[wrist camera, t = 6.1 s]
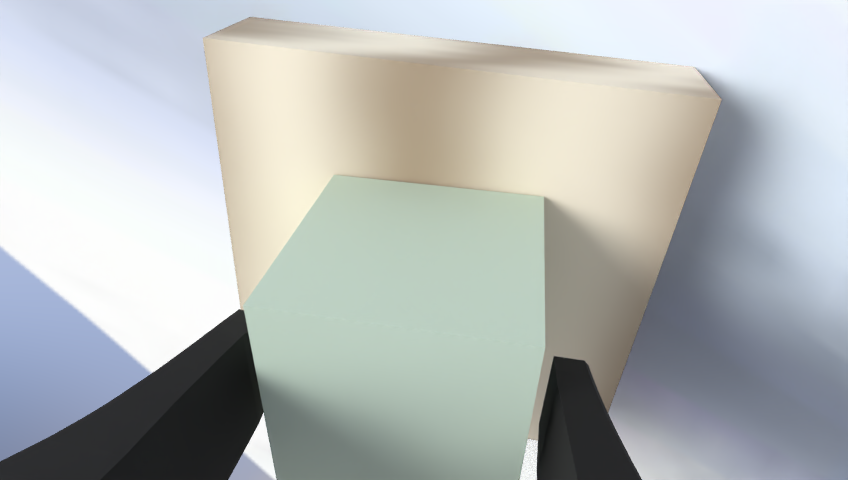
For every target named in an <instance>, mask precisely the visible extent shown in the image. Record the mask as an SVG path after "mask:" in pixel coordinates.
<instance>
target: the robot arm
mask: <svg viewBox="0 0 848 480" xmlns="http://www.w3.org/2000/svg"><path fill="white" fill-rule="evenodd" d="M263 412H264V411H263V406H262V401H261V396H260V390H259V385H258V380H257V375H256V370H255V365H254V359H253V354H252V349H251V344H250V339H249V334H248V328H247V323H246V318H245V313H244V310H240V309H239V310H238V311H236V312H235V313H234V314H232V315H231V316H229V317H228V318H227V319H225V320H224V321H223V322H221V323H220V324H219V325H217V326H216V327H215V328H213V329H212V330H211V331H209V332H208V333H207V334H205V335H204V336H203V337H201V338H200V339H199V340H197V341H196V342H195V343H193V344H192V345H191V346H189V347H188V348H187V349H185V350H184V351H183V352H181V353H180V354H178V355H177V356H176V357H174V358H173V359H171V360H170V361H169V362H167V363H166V364H165V365H163V366H162V367H160V368H159V369H158V370H156V371H155V372H153V373H152V374H150V375H149V376H147V377H146V378H144V379H143V380H141V381H140V382H138V383H137V384H136V385H134V386H132V387H131V388H129V389H128V390H126V391H125V392H124V393H122V394H121V395H119V396H117V397H116V398H114V399H113V400H111V401H110V402H108V403H107V404H105V405H103V406H102V407H100V408H99V409H97V410H95V411H94V412H92V413H90V414H89V415H87V416H85V417H84V418H82V419H80V420H78V421H77V422H75V423H73V424H71V425H70V426H68V427H66V428H64V429H63V430H61V431H59V432H57V433H55V434H54V435H52V436H50V437H48V438H46V439H44V440H42V441H40V442H38V443H36V444H34V445H32V446H30V447H28V448H26V449H24V450H23V451H21V452H18V453H16V454H14V455H12V456H10V457H9V458H7V459H4V460H2V461H1V462H0V480H228V479H229V477H230V475H231V474H232V472H233V470H234V468H235V466H236V465H237V463H238V461H239V459H240V457H241V455H242V454H243V452H244V450H245V448H246V446H247V444H248V443H249V441H250V439H251V437H252V435H253V433H254V431H255V429H256V428H257V426H258V424H259V422H260V419H261V417H262V414H263ZM537 480H642V479H641V477H640V475H639V473H638V472H637V470H636V468H635V466H634V464H633V463H632V461H631V459H630V457H629V455H628V453H627V451H626V449H625V447H624V445H623V443H622V441H621V439H620V437H619V435H618V433H617V431H616V429H615V427H614V425H613V423H612V421H611V419H610V416H609V414H608V412H607V410H606V408H605V405H604V403H603V401H602V398H601V396H600V394H599V391H598V389H597V386H596V384H595V381H594V379H593V376H592V373H591V371H590V368H589V365H588V364H587V363H586V362H585V361H584V360H578V359H571V358H564V357H557V356H554V357H553V362H552V366H551V371H550V375H549V380H548V384H547V389H546V393H545V398H544V402H543V407H542V412H541V416H540V421H539V432H538V453H537Z"/></svg>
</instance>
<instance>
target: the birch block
mask: <svg viewBox="0 0 848 480" xmlns="http://www.w3.org/2000/svg"><path fill="white" fill-rule="evenodd" d="M203 43H204V50H205V57H206V64H207V71H208V78H209V86H210V93H211V100H212V107H213V114H214V121H215V128H216V136H217V143H218V150H219V157H220V164H221V171H222V178H223V186H224V193H225V200H226V207H227V214H228V221H229V228H230V236H231V243H232V250H233V257H234V264H235V271H236V278H237V285H238V293H239V300H240V307H241V310H244V308H243V305H244V304H245V302H246V301H247V299H248V298H249V296H250V295H251V293H252V292H253V291H254V289H255V288H256V286H257V285H258V283H259V282H260V281H261V279H262V278H263V276H264V275H265V273H266V272H267V270H268V269H269V268H270V266H271V265H272V263H273V262H274V260H275V259H276V257H277V256H278V255H279V253H280V252H281V250H282V249H283V247H284V246H285V245H286V243H287V242H288V240H289V239H290V237H291V236H292V234H293V233H294V232H295V230H296V229H297V227H298V226H299V224H300V223H301V222H302V220H303V219H304V217H305V216H306V214H307V213H308V211H309V210H310V209H311V207H312V206H313V204H314V203H315V201H316V200H317V198H318V197H319V196H320V194H321V193H322V191H323V190H324V188H325V187H326V186H327V184H328V183H329V181H330V180H331V178H332V177H333V175H341V176H350V177H360V178H370V179H379V180H389V181H398V182H408V183H418V184H427V185H437V186H447V187H456V188H466V189H475V190H485V191H495V192H504V193H514V194H523V195H533V196H543V197H544V260H545V352H544V357H543V362H542V367H541V372H540V377H539V382H538V387H537V392H536V397H535V403H534V408H533V413H532V418H531V423H530V428H529V433H528V438H527V439H533V440H538V432H539V421H540V416H541V412H542V407H543V402H544V398H545V393H546V389H547V384H548V380H549V375H550V371H551V366H552V362H553V357H554V356H557V357H564V358H571V359H578V360H584V361H585V362H586V363H587V364H588V365H589V368H590V371H591V373H592V376H593V379H594V381H595V384H596V386H597V389H598V391H599V394H600V396H601V398H602V401H603V403H604V405H605V408H606V410H607V412H608V411H609V408H610V406H611V403H612V400H613V397H614V395H615V392H616V389H617V386H618V384H619V381H620V378H621V375H622V373H623V370H624V367H625V364H626V362H627V359H628V356H629V353H630V351H631V348H632V345H633V342H634V340H635V337H636V334H637V331H638V329H639V326H640V323H641V320H642V318H643V315H644V312H645V309H646V307H647V304H648V301H649V298H650V296H651V293H652V290H653V287H654V285H655V282H656V279H657V276H658V274H659V271H660V268H661V265H662V263H663V260H664V257H665V254H666V252H667V249H668V246H669V243H670V241H671V238H672V235H673V232H674V230H675V227H676V224H677V221H678V219H679V216H680V213H681V210H682V208H683V205H684V202H685V199H686V197H687V194H688V191H689V188H690V186H691V183H692V180H693V177H694V175H695V172H696V169H697V166H698V164H699V161H700V158H701V155H702V153H703V150H704V147H705V144H706V142H707V139H708V136H709V133H710V131H711V128H712V125H713V122H714V120H715V117H716V114H717V111H718V109H719V106H720V103H721V100H722V99H721V98H720V97H719V96H718V94H717V93H716V92H715V91H714V90H713V88H712V87H711V86H710V85H709V84H708V83H707V81H706V80H705V79H704V78H703V77H702V75H701V74H700V73H699V72H698V71H697V70H696V68H695V67H691V66H682V65H673V64H664V63H656V62H647V61H638V60H629V59H620V58H611V57H602V56H593V55H584V54H576V53H567V52H558V51H549V50H540V49H531V48H522V47H513V46H504V45H495V44H487V43H478V42H469V41H460V40H451V39H442V38H433V37H424V36H415V35H406V34H398V33H389V32H380V31H371V30H362V29H353V28H344V27H335V26H326V25H318V24H309V23H300V22H291V21H282V20H273V19H264V18H255V17H249V18H247V19H244V20H242V21H240V22H238V23H235V24H233V25H231V26H229V27H226V28H224V29H222V30H220V31H217V32H215V33H213V34H211V35H208V36H206V37H204V38H203Z"/></svg>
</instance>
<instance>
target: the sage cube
mask: <svg viewBox="0 0 848 480" xmlns="http://www.w3.org/2000/svg"><path fill="white" fill-rule="evenodd" d="M243 308H244V313H245V318H246V323H247V328H248V334H249V339H250V344H251V349H252V354H253V359H254V365H255V370H256V375H257V380H258V385H259V390H260V396H261V401H262V406H263V411H264V416H265V421H266V427H267V432H268V437H269V442H270V447H271V452H272V458H273V463H274V468H275V473H276V478H277V480H519V479H520V474H521V469H522V464H523V459H524V454H525V449H526V443H527V438H528V433H529V428H530V423H531V418H532V413H533V408H534V403H535V397H536V392H537V387H538V382H539V377H540V372H541V367H542V362H543V357H544V352H545V260H544V197H543V196H533V195H523V194H514V193H504V192H495V191H485V190H475V189H466V188H456V187H447V186H437V185H427V184H418V183H408V182H398V181H389V180H379V179H370V178H360V177H350V176H341V175H333V177H332V178H331V180H330V181H329V183H328V184H327V186H326V187H325V188H324V190H323V191H322V193H321V194H320V196H319V197H318V198H317V200H316V201H315V203H314V204H313V206H312V207H311V209H310V210H309V211H308V213H307V214H306V216H305V217H304V219H303V220H302V222H301V223H300V224H299V226H298V227H297V229H296V230H295V232H294V233H293V234H292V236H291V237H290V239H289V240H288V242H287V243H286V245H285V246H284V247H283V249H282V250H281V252H280V253H279V255H278V256H277V257H276V259H275V260H274V262H273V263H272V265H271V266H270V268H269V269H268V270H267V272H266V273H265V275H264V276H263V278H262V279H261V281H260V282H259V283H258V285H257V286H256V288H255V289H254V291H253V292H252V293H251V295H250V296H249V298H248V299H247V301H246V302H245V304H244V305H243Z"/></svg>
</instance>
